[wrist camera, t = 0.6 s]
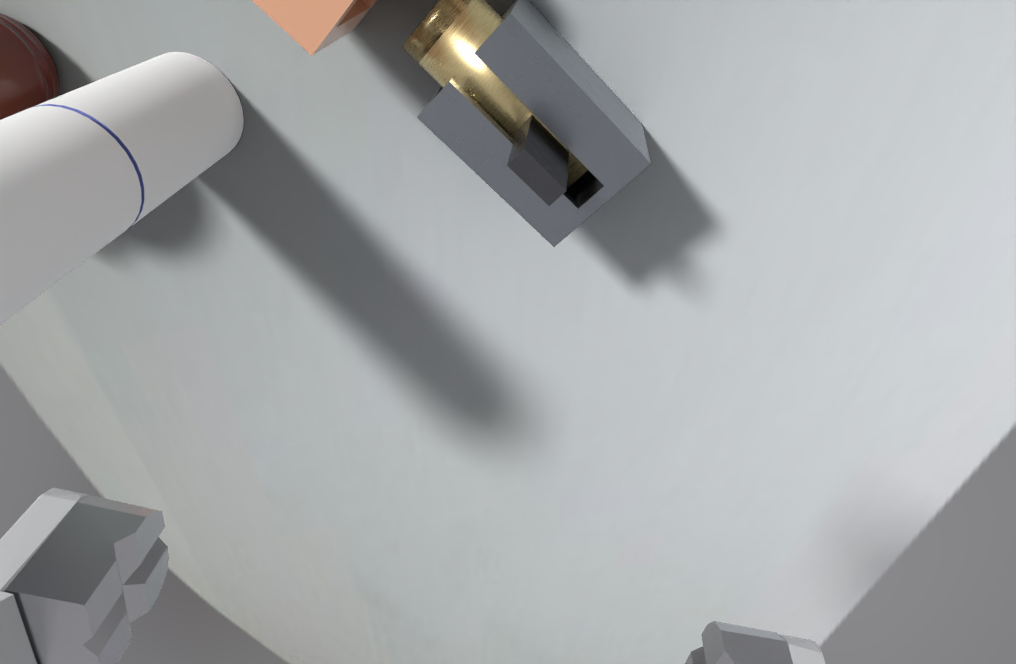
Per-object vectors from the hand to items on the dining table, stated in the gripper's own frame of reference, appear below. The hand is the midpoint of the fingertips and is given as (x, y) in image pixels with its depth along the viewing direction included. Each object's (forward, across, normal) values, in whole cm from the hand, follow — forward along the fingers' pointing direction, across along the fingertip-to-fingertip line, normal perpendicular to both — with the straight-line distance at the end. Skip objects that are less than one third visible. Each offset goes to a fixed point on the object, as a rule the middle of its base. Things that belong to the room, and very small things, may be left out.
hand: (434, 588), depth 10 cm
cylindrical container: (+39, +23, +8) cm, 46 cm away
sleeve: (+38, 0, +3) cm, 39 cm away
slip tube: (+37, +2, +2) cm, 37 cm away
